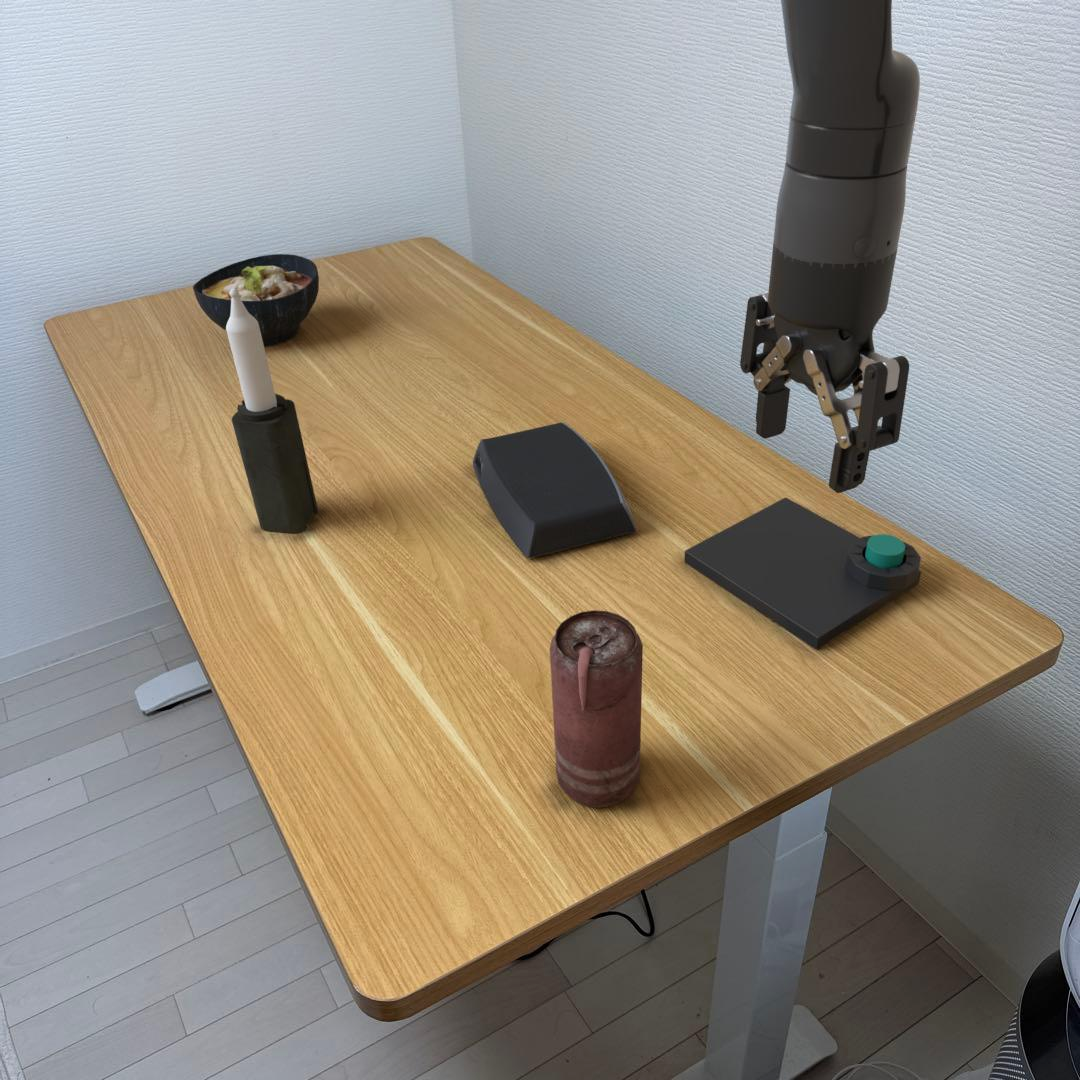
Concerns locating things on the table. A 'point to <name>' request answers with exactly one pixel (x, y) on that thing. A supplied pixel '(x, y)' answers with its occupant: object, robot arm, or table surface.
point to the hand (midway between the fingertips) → (805, 459)
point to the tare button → (885, 551)
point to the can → (597, 707)
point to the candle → (268, 433)
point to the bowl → (263, 293)
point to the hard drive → (551, 490)
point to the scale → (802, 571)
